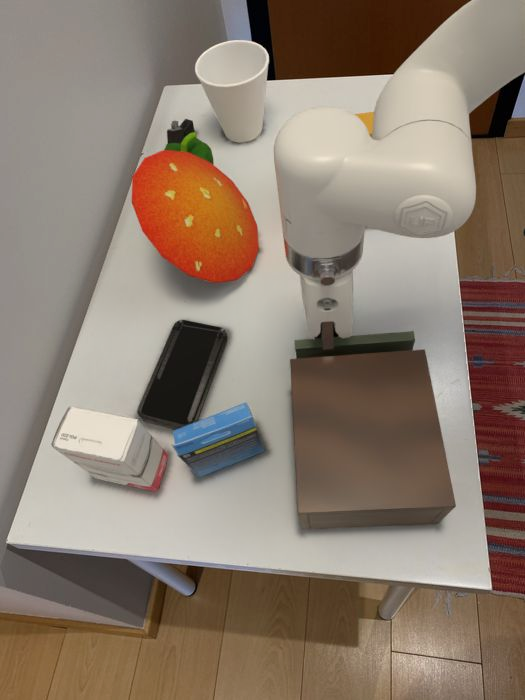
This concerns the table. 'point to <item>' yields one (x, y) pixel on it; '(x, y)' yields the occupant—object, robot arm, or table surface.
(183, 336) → the phone
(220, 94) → the cup
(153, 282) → the table surface
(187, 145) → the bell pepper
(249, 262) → the toy strawberry
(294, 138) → the robot arm
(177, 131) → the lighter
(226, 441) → the label tape box
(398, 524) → the cabinet
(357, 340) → the drawer
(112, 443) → the ink box
